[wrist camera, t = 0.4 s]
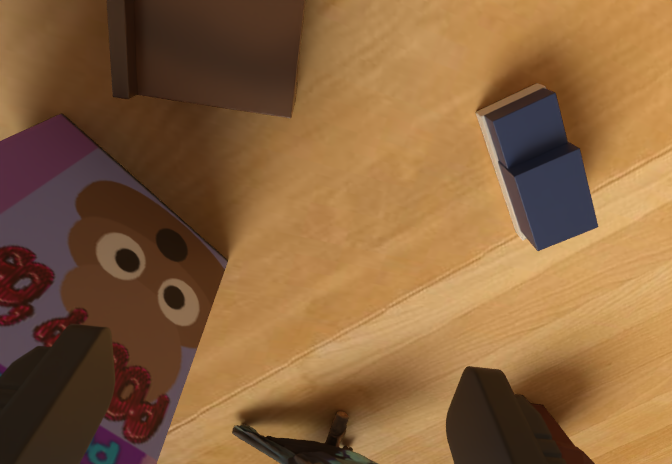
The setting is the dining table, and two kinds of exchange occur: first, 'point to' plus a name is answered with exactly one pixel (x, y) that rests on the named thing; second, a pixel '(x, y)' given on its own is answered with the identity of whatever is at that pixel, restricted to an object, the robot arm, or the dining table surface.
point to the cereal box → (102, 277)
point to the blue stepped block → (537, 167)
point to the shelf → (208, 52)
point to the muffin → (563, 440)
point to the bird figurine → (305, 446)
